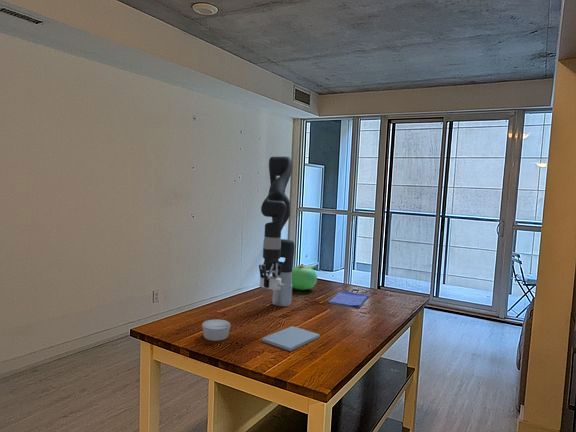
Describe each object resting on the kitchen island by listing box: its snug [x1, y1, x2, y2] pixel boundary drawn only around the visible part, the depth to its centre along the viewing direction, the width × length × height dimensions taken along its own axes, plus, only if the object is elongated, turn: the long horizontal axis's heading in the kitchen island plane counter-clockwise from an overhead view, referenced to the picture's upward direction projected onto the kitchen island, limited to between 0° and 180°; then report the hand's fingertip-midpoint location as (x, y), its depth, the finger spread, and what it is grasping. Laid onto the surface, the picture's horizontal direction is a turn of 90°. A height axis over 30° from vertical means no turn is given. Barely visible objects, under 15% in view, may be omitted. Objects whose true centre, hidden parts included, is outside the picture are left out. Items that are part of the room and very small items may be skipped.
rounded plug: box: [259, 274, 285, 291], centre depth 182 cm, size 4×13×4 cm, turn 53°
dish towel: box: [328, 290, 369, 309], centre depth 232 cm, size 17×24×3 cm
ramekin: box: [201, 318, 231, 342], centre depth 168 cm, size 11×11×5 cm
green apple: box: [292, 264, 318, 291], centre depth 250 cm, size 18×17×15 cm
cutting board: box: [261, 325, 321, 352], centre depth 169 cm, size 20×14×1 cm
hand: (270, 286), depth 183 cm, fingers closed on rounded plug, 4 cm apart
